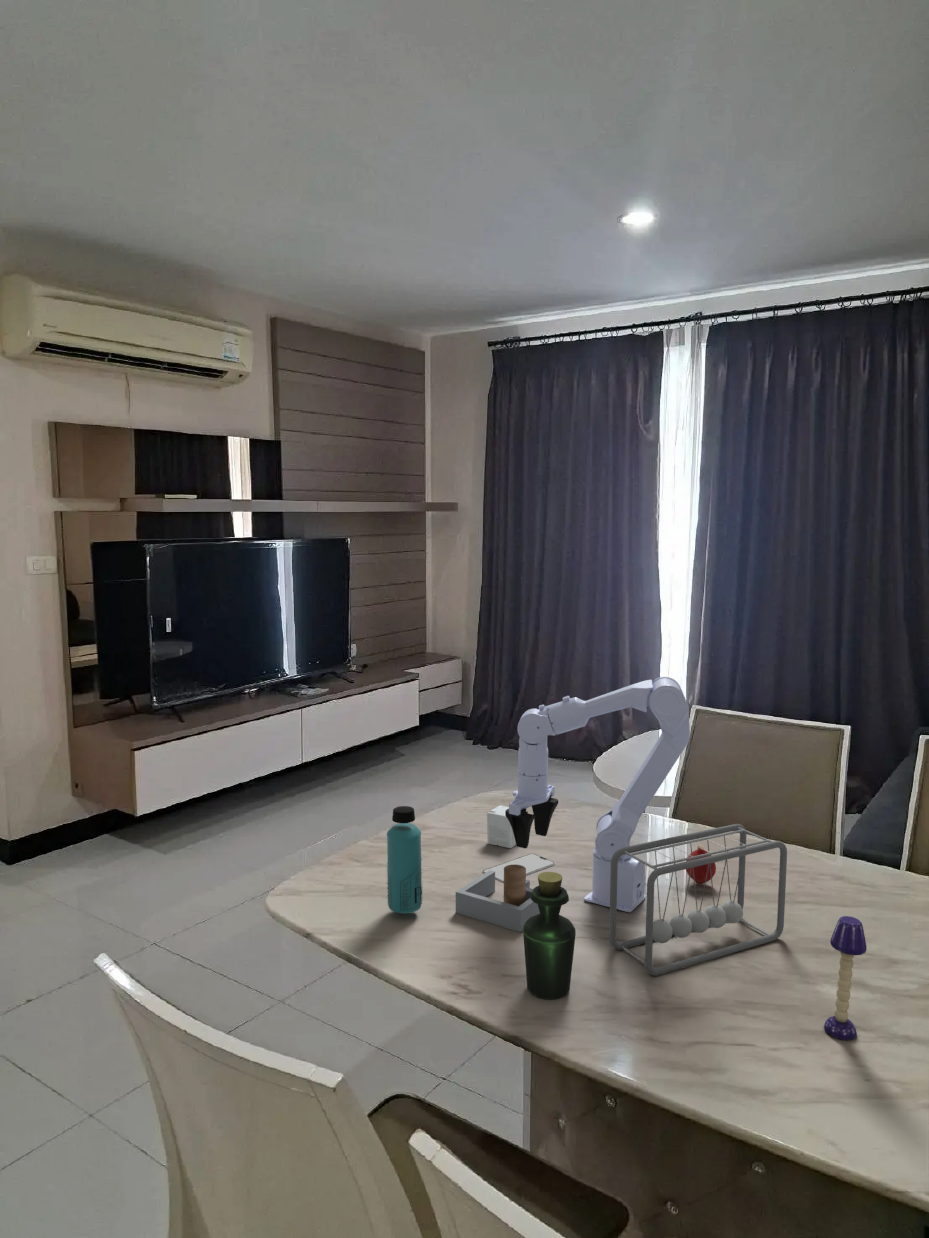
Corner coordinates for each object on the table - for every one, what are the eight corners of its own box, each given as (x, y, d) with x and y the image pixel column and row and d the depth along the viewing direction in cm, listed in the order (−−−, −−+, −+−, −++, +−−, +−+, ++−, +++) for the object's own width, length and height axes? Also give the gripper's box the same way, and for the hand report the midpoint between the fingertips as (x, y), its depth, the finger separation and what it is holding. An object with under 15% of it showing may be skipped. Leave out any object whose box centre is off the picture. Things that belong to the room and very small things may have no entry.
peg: (529, 914, 157) (529, 867, 156) (518, 923, 153) (519, 875, 152) (510, 909, 159) (510, 862, 158) (499, 917, 156) (499, 870, 155)
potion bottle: (541, 969, 138) (542, 861, 136) (584, 986, 133) (587, 875, 131) (511, 990, 132) (512, 878, 130) (555, 1009, 126) (557, 892, 124)
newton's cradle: (647, 980, 135) (650, 871, 133) (607, 950, 144) (609, 849, 142) (784, 938, 149) (789, 839, 147) (740, 914, 158) (743, 821, 156)
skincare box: (523, 840, 194) (523, 809, 193) (510, 849, 189) (510, 816, 188) (499, 835, 197) (500, 804, 196) (486, 843, 192) (486, 811, 191)
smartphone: (480, 870, 176) (532, 852, 186) (480, 873, 177) (532, 855, 186) (504, 882, 171) (557, 862, 180) (504, 885, 171) (557, 866, 180)
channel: (552, 907, 160) (552, 886, 160) (520, 932, 150) (521, 910, 150) (489, 889, 168) (489, 870, 167) (455, 912, 158) (455, 891, 157)
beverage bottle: (417, 923, 154) (417, 815, 151) (382, 919, 155) (381, 812, 153) (426, 907, 160) (426, 803, 158) (392, 904, 161) (391, 801, 159)
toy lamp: (851, 1022, 123) (857, 911, 122) (867, 1041, 119) (874, 927, 117) (818, 1023, 123) (824, 912, 121) (833, 1042, 119) (839, 927, 117)
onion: (712, 879, 173) (713, 840, 172) (717, 891, 167) (719, 851, 167) (682, 877, 174) (684, 839, 173) (687, 889, 168) (688, 850, 167)
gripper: (533, 760, 172) (531, 825, 174) (495, 777, 160) (494, 847, 162) (564, 766, 168) (563, 832, 170) (528, 784, 156) (527, 856, 158)
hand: (531, 840), depth 165 cm, fingers open, 7 cm apart
